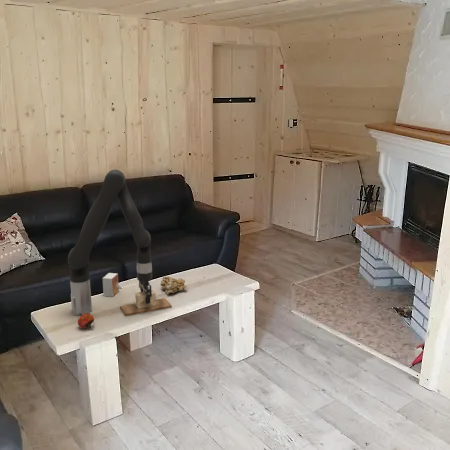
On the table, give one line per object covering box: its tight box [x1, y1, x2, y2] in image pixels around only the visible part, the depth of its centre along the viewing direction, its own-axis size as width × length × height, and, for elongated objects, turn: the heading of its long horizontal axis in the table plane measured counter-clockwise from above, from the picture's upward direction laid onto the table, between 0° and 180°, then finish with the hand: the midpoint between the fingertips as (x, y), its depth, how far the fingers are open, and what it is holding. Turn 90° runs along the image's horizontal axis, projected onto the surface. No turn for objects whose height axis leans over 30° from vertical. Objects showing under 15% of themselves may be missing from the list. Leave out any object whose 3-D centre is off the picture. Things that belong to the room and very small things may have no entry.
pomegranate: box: [77, 313, 95, 330], centre depth 225 cm, size 7×7×10 cm
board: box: [119, 297, 172, 317], centre depth 246 cm, size 24×10×1 cm, turn 115°
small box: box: [102, 272, 120, 298], centre depth 262 cm, size 8×6×10 cm
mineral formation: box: [159, 275, 187, 296], centre depth 268 cm, size 8×13×15 cm
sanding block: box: [134, 289, 157, 309], centre depth 245 cm, size 9×5×7 cm, turn 115°
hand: (145, 300), depth 245 cm, fingers open, 8 cm apart
